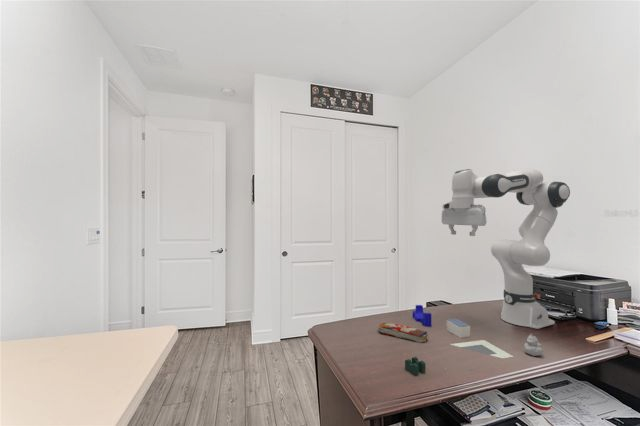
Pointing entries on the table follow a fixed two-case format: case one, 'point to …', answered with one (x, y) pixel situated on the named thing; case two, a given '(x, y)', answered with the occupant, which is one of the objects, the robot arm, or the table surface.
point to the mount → (415, 366)
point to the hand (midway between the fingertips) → (462, 235)
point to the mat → (483, 348)
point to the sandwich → (403, 332)
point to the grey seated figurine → (533, 346)
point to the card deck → (458, 328)
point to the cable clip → (422, 316)
